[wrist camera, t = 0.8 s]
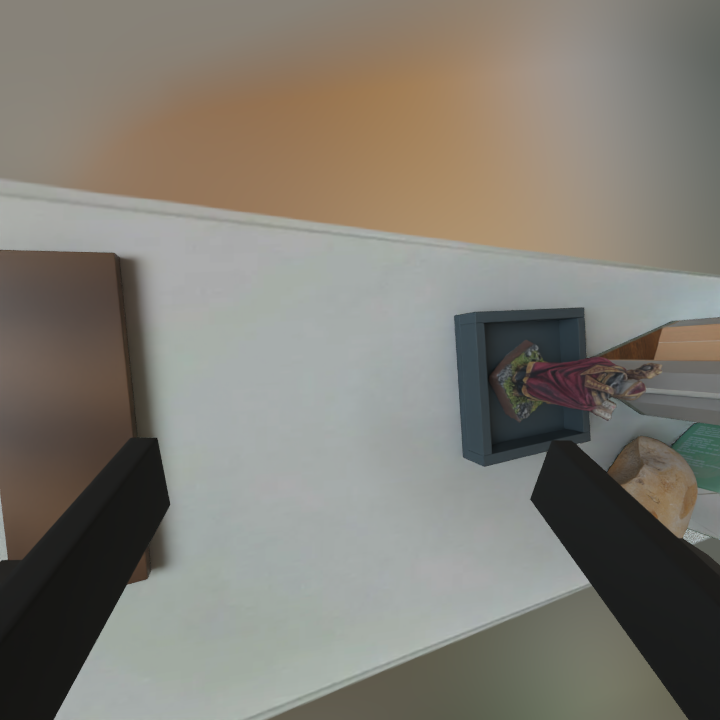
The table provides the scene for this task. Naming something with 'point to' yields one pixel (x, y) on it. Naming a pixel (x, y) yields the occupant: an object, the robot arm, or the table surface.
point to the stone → (658, 481)
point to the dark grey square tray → (478, 400)
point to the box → (703, 475)
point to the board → (60, 386)
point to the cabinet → (676, 370)
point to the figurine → (564, 383)
